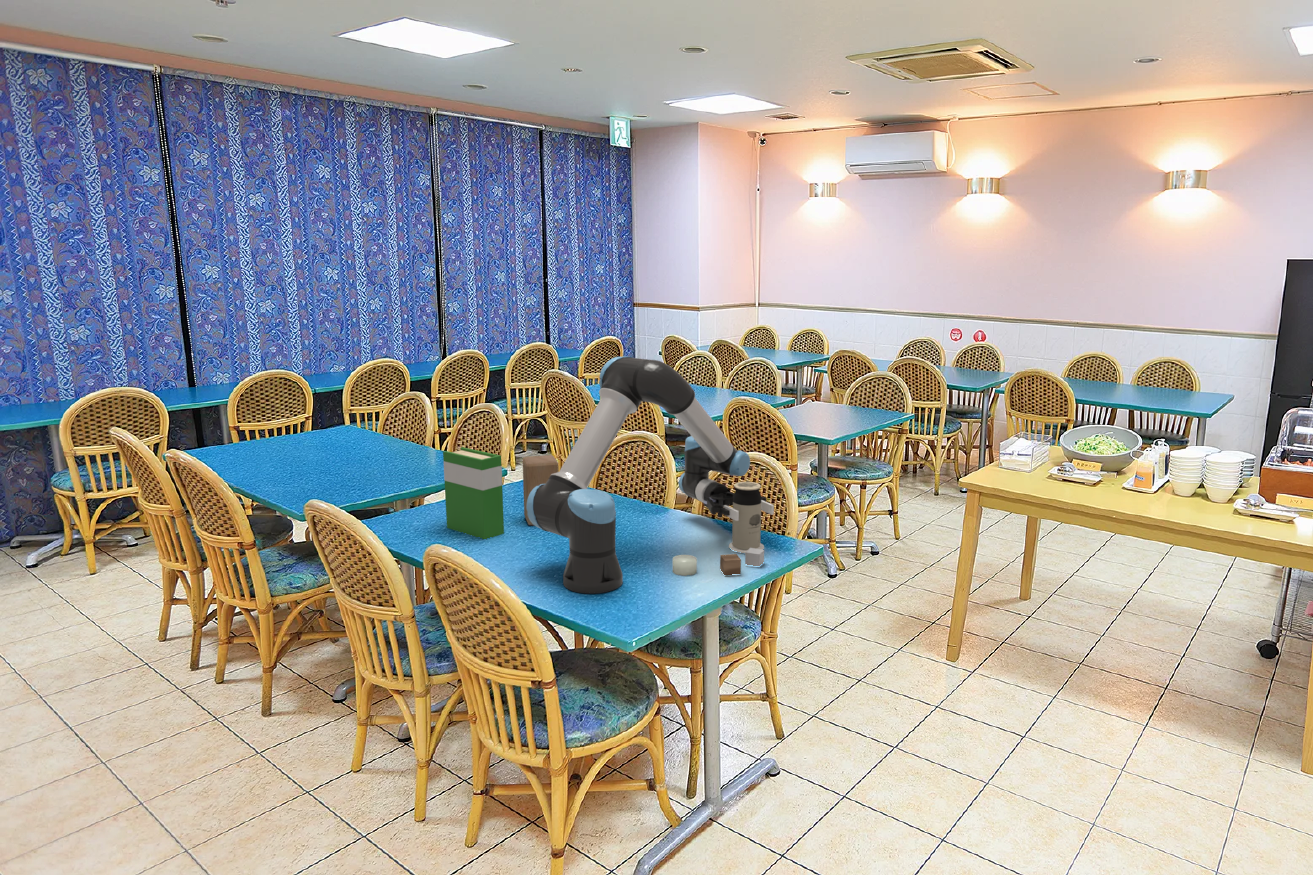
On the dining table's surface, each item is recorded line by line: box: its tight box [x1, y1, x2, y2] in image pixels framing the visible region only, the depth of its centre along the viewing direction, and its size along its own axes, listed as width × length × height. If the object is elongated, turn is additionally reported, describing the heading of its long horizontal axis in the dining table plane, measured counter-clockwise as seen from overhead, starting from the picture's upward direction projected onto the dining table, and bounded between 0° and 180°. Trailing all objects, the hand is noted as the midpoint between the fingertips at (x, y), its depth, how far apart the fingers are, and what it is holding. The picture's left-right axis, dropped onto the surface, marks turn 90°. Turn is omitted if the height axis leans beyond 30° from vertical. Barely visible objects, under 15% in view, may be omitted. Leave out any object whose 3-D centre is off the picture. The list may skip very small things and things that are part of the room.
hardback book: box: [442, 446, 505, 540], centre depth 258 cm, size 18×7×24 cm, turn 51°
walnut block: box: [719, 553, 742, 576], centre depth 227 cm, size 4×4×4 cm
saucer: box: [728, 542, 765, 554], centre depth 246 cm, size 10×10×1 cm
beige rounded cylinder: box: [672, 554, 698, 577], centre depth 228 cm, size 6×6×4 cm
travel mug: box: [731, 481, 762, 550], centre depth 244 cm, size 8×8×18 cm
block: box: [522, 454, 560, 526], centre depth 269 cm, size 10×10×20 cm
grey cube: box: [744, 548, 765, 566], centre depth 232 cm, size 4×4×4 cm
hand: (755, 512), depth 240 cm, fingers open, 11 cm apart
